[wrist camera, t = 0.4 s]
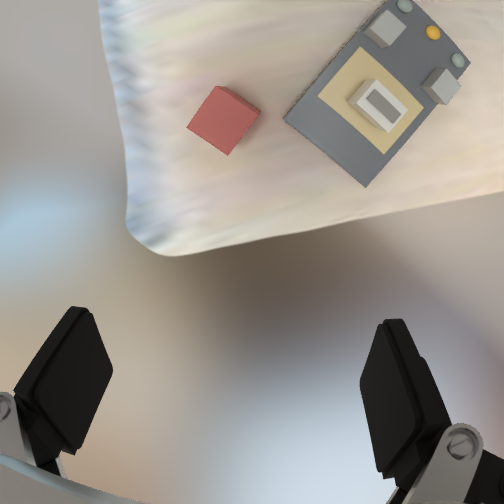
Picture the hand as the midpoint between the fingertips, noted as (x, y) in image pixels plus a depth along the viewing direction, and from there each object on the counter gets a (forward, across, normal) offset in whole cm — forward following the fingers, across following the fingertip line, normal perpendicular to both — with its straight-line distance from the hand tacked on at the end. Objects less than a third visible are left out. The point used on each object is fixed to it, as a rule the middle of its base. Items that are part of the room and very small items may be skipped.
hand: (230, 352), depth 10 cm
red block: (+27, +3, -5) cm, 27 cm away
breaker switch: (+24, -11, -7) cm, 27 cm away
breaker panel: (+26, -13, -10) cm, 31 cm away
